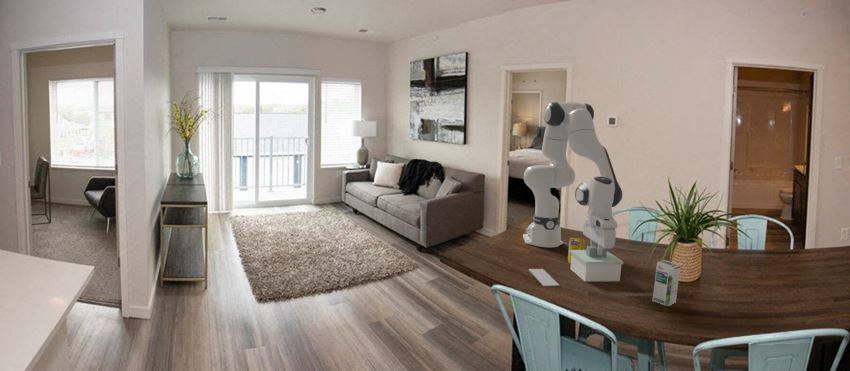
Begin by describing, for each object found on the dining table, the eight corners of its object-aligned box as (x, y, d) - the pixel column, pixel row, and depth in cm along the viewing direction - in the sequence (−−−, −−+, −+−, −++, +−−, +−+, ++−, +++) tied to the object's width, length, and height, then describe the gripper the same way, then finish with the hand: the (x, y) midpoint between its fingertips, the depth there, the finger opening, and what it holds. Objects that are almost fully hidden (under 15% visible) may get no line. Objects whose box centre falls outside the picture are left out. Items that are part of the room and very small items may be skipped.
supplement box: (583, 266, 203) (585, 242, 202) (568, 265, 205) (570, 240, 203) (581, 262, 209) (583, 238, 207) (567, 261, 210) (569, 237, 208)
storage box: (570, 271, 197) (571, 252, 196) (602, 271, 199) (604, 252, 197) (584, 283, 184) (586, 263, 182) (619, 283, 185) (621, 263, 184)
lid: (569, 254, 197) (570, 241, 196) (604, 254, 198) (605, 241, 197) (585, 266, 182) (586, 252, 181) (623, 266, 184) (624, 252, 183)
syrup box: (651, 301, 169) (656, 261, 166) (660, 297, 172) (665, 259, 170) (667, 307, 164) (672, 266, 162) (676, 303, 168) (681, 263, 165)
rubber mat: (528, 269, 198) (528, 269, 197) (565, 269, 199) (566, 268, 199) (543, 286, 180) (543, 285, 180) (584, 285, 182) (584, 284, 182)
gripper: (580, 212, 197) (577, 245, 199) (603, 225, 177) (600, 261, 179) (595, 212, 198) (592, 245, 200) (619, 225, 178) (616, 261, 180)
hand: (596, 252), depth 190 cm, fingers closed on lid, 3 cm apart
